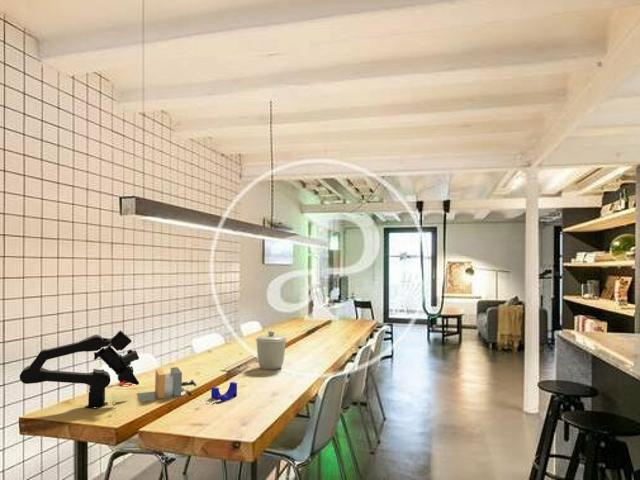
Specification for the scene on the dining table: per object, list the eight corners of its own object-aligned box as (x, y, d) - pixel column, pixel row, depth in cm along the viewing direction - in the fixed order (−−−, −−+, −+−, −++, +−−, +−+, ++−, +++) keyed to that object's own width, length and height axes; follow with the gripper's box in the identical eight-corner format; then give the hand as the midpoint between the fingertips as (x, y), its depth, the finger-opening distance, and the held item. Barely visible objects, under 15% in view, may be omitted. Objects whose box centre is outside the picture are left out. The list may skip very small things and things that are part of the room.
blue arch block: (218, 403, 188) (218, 389, 189) (211, 401, 191) (211, 387, 191) (239, 397, 198) (239, 383, 198) (232, 395, 200) (232, 381, 201)
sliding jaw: (158, 398, 189) (158, 375, 189) (155, 391, 200) (155, 369, 200) (164, 397, 190) (165, 374, 191) (160, 390, 201) (161, 368, 201)
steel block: (163, 396, 192) (164, 377, 193) (161, 392, 198) (162, 374, 199) (173, 395, 194) (173, 376, 194) (170, 391, 200) (171, 373, 201)
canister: (249, 370, 248) (250, 332, 249) (263, 363, 265) (263, 327, 266) (279, 372, 243) (279, 333, 244) (291, 365, 260) (291, 329, 261)
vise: (139, 405, 185) (140, 377, 186) (136, 396, 197) (137, 370, 197) (197, 397, 196) (197, 371, 196) (191, 390, 207) (192, 365, 208)
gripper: (129, 348, 182) (155, 374, 186) (126, 341, 198) (151, 365, 202) (106, 369, 178) (133, 395, 182) (105, 359, 194) (130, 384, 198)
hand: (138, 383), depth 191 cm, fingers closed
